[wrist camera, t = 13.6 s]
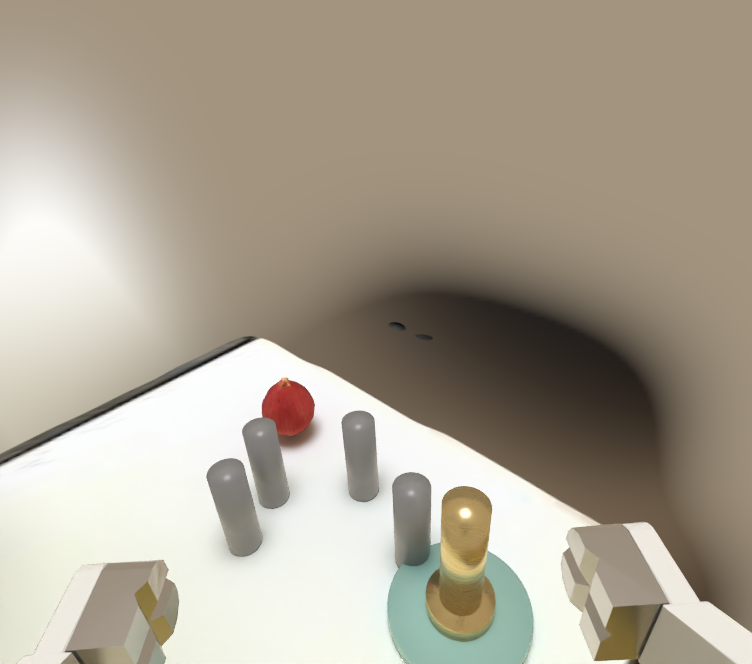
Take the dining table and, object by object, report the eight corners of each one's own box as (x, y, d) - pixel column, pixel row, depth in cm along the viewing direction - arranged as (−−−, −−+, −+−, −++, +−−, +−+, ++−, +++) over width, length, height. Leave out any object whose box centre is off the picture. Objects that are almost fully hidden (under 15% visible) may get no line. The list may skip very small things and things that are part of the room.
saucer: (394, 700, 34) (393, 692, 33) (383, 555, 43) (383, 547, 43) (553, 687, 34) (555, 679, 33) (508, 546, 43) (509, 537, 43)
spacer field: (218, 590, 41) (192, 519, 36) (242, 486, 51) (223, 420, 46) (432, 573, 42) (433, 501, 37) (416, 474, 51) (416, 406, 46)
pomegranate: (257, 437, 57) (244, 381, 53) (293, 410, 61) (284, 356, 56) (291, 459, 54) (280, 401, 49) (328, 429, 57) (320, 374, 53)
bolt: (431, 644, 36) (433, 544, 30) (421, 577, 40) (421, 477, 34) (502, 638, 36) (518, 537, 30) (484, 571, 40) (495, 472, 34)
